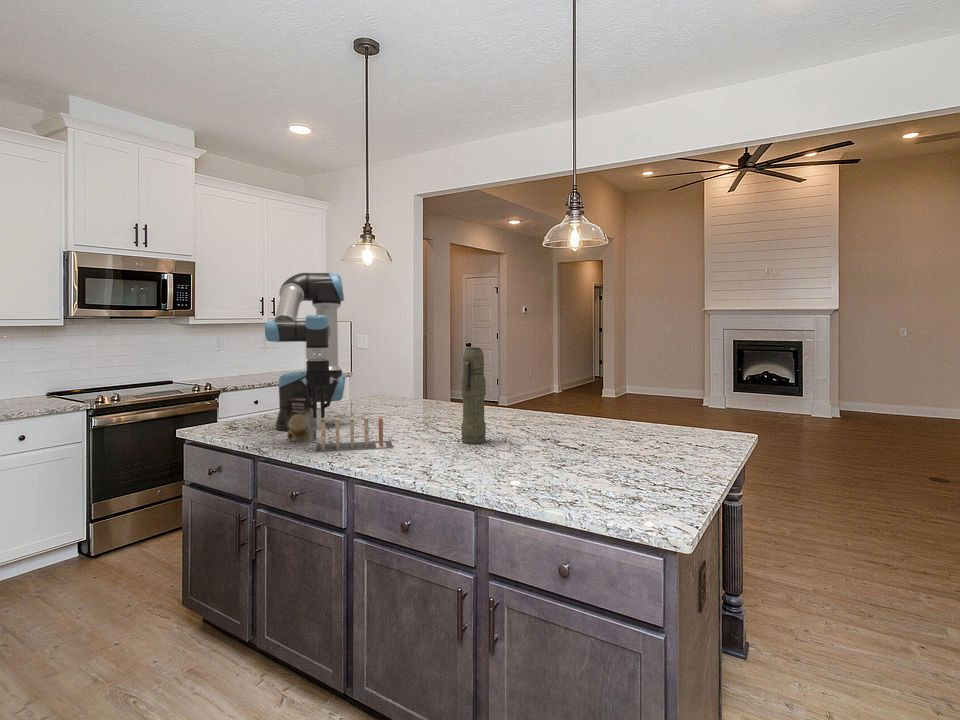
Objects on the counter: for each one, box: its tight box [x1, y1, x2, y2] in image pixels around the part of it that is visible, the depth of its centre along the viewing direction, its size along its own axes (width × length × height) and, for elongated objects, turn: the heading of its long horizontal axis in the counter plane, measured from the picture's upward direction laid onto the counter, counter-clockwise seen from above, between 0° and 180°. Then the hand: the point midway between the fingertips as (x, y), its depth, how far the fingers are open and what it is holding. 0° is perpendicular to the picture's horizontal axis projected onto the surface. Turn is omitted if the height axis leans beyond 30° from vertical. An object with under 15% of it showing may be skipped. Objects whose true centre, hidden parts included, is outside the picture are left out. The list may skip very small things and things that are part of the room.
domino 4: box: [363, 416, 370, 448], centre depth 197 cm, size 5×1×10 cm, turn 14°
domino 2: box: [334, 417, 341, 449], centre depth 194 cm, size 5×1×10 cm, turn 14°
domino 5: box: [378, 415, 384, 447], centre depth 198 cm, size 5×1×10 cm, turn 14°
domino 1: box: [320, 418, 326, 450], centre depth 193 cm, size 5×1×10 cm, turn 14°
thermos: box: [461, 346, 487, 445], centre depth 204 cm, size 9×12×35 cm
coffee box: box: [286, 398, 317, 444], centre depth 205 cm, size 9×6×16 cm
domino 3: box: [349, 416, 355, 448], centre depth 196 cm, size 5×1×10 cm, turn 14°
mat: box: [314, 440, 394, 453], centre depth 197 cm, size 12×26×1 cm, turn 104°
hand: (319, 427), depth 193 cm, fingers closed
